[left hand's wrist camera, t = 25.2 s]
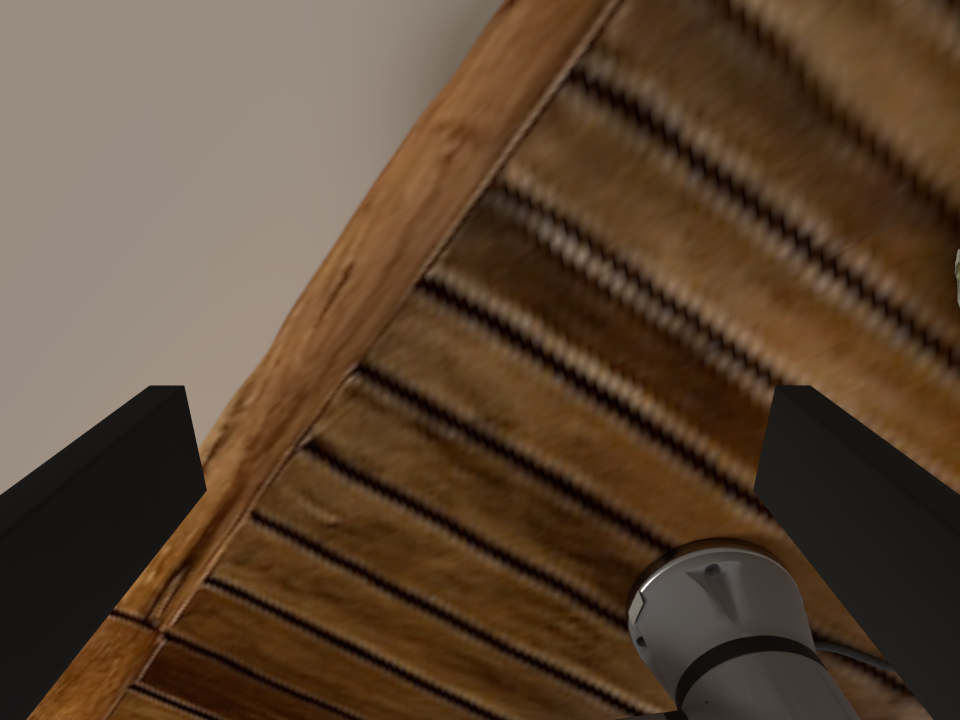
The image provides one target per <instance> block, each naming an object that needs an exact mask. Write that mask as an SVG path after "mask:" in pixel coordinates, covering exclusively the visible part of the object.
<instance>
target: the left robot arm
mask: <svg viewBox="0 0 960 720" xmlns="http://www.w3.org/2000/svg"><path fill="white" fill-rule="evenodd" d="M206 491H207V489H206V485H205V480H204V475H203V471H202V466H201V461H200V457H199V452H198V447H197V443H196V438H195V433H194V429H193V424H192V419H191V415H190V410H189V405H188V401H187V396H186V391H185V387H184V386H148V387H147V388H146V389H144V390H143V391H142V392H140V393H139V394H138V395H136V396H135V397H133V398H132V399H131V400H129V401H128V402H127V403H125V404H124V405H123V406H121V407H120V408H118V409H117V410H116V411H114V412H113V413H112V414H110V415H109V416H108V417H106V418H105V419H103V420H102V421H101V422H99V423H98V424H97V425H95V426H94V427H93V428H91V429H90V430H88V431H87V432H86V433H84V434H83V435H82V436H80V437H79V438H78V439H76V440H75V441H74V442H72V443H71V444H69V445H68V446H67V447H65V448H64V449H63V450H61V451H60V452H58V453H57V454H56V455H54V456H53V457H52V458H50V459H49V460H48V461H46V462H45V463H43V464H42V465H41V466H39V467H38V468H37V469H35V470H34V471H33V472H31V473H30V474H28V475H27V476H26V477H24V478H23V479H22V480H20V481H19V482H18V483H16V484H15V485H14V486H12V487H11V488H9V489H8V490H7V491H5V492H4V493H3V494H1V495H0V720H26V719H27V718H28V717H29V716H30V714H31V713H32V712H33V711H34V709H35V708H36V707H37V705H38V704H39V703H40V702H41V700H42V699H43V698H44V697H45V695H46V694H47V693H48V692H49V690H50V689H51V688H52V686H53V685H54V684H55V683H56V681H57V680H58V679H59V678H60V676H61V675H62V674H63V672H64V671H65V670H66V669H67V667H68V666H69V665H70V664H71V662H72V661H73V660H74V658H75V657H76V656H77V655H78V653H79V652H80V651H81V650H82V648H83V647H84V646H85V645H86V643H87V642H88V641H89V639H90V638H91V637H92V636H93V634H94V633H95V632H96V631H97V629H98V628H99V627H100V625H101V624H102V623H103V622H104V620H105V619H106V618H107V617H108V615H109V614H110V613H111V611H112V610H113V609H114V608H115V606H116V605H117V604H118V603H119V601H120V600H121V599H122V597H123V596H124V595H125V594H126V592H127V591H128V590H129V589H130V587H131V586H132V585H133V584H134V582H135V581H136V580H137V578H138V577H139V576H140V575H141V573H142V572H143V571H144V570H145V568H146V567H147V566H148V564H149V563H150V562H151V561H152V559H153V558H154V557H155V556H156V554H157V553H158V552H159V550H160V549H161V548H162V547H163V545H164V544H165V543H166V542H167V540H168V539H169V538H170V537H171V535H172V534H173V533H174V531H175V530H176V529H177V528H178V526H179V525H180V524H181V523H182V521H183V520H184V519H185V517H186V516H187V515H188V514H189V512H190V511H191V510H192V509H193V507H194V506H195V505H196V503H197V502H198V501H199V500H200V498H201V497H202V496H203V495H204V493H205V492H206ZM753 491H754V492H755V493H756V495H757V496H758V497H759V498H760V500H761V501H762V502H763V503H764V505H765V506H766V507H767V509H768V510H769V511H770V512H771V514H772V515H773V516H774V517H775V519H776V520H777V521H778V523H779V524H780V525H781V526H782V528H783V529H784V530H785V531H786V533H787V534H788V535H789V537H790V538H791V539H792V540H793V542H794V543H795V544H796V545H797V547H798V548H799V549H800V550H801V552H802V553H803V554H804V556H805V557H806V558H807V559H808V561H809V562H810V563H811V564H812V566H813V567H814V568H815V570H816V571H817V572H818V573H819V575H820V576H821V577H822V578H823V580H824V581H825V582H826V584H827V585H828V586H829V587H830V589H831V590H832V591H833V592H834V594H835V595H836V596H837V597H838V599H839V600H840V601H841V603H842V604H843V605H844V606H845V608H846V609H847V610H848V611H849V613H850V614H851V615H852V617H853V618H854V619H855V620H856V622H857V623H858V624H859V625H860V627H861V628H862V629H863V631H864V632H865V633H866V634H867V636H868V637H869V638H870V639H871V641H872V642H873V643H874V645H875V646H876V647H877V648H878V650H879V651H880V652H881V653H882V655H883V656H884V657H885V658H886V660H887V661H888V662H887V661H884V660H881V659H878V658H875V657H872V656H869V655H867V654H864V653H862V652H859V651H857V650H854V649H851V648H848V647H845V646H842V645H838V644H835V643H830V642H822V641H813V638H812V634H811V631H810V627H809V623H808V619H807V616H806V613H805V609H804V604H803V600H802V597H801V594H800V592H799V590H798V587H797V585H796V583H795V581H794V580H793V578H792V577H791V575H790V574H789V573H788V571H787V570H786V568H785V567H784V566H783V564H782V563H781V562H780V561H779V560H778V559H777V558H776V557H775V556H773V555H772V554H771V553H769V552H768V551H766V550H765V549H763V548H761V547H759V546H756V545H753V544H750V543H747V542H743V541H737V540H728V539H715V540H706V541H700V542H695V543H691V544H688V545H685V546H682V547H679V548H677V549H675V550H673V551H670V552H668V553H667V554H665V555H663V556H662V557H660V558H659V559H657V560H656V561H654V562H653V563H652V564H651V565H650V566H648V567H647V568H646V569H645V570H644V571H643V572H642V574H641V575H640V576H639V577H638V578H637V580H636V581H635V583H634V584H633V586H632V588H631V590H630V593H629V595H628V598H627V602H626V610H625V615H626V622H627V626H628V629H629V633H630V636H631V639H632V642H633V644H634V646H635V648H636V650H637V652H638V653H639V655H640V657H641V658H642V660H643V661H644V662H645V664H646V665H647V666H648V668H649V669H650V670H651V672H652V673H653V674H654V676H655V677H656V678H657V680H658V681H659V682H660V684H661V685H662V686H663V688H664V689H665V690H666V692H667V693H668V694H669V696H670V697H671V698H672V700H673V701H674V702H675V704H676V707H677V710H678V711H671V712H665V713H656V714H649V715H642V716H636V717H629V718H623V719H616V720H861V719H860V718H859V716H858V715H857V713H856V712H855V710H854V709H853V708H852V706H851V705H850V703H849V702H848V700H847V699H846V697H845V696H844V694H843V693H842V691H841V690H840V688H839V687H838V685H837V684H836V682H835V681H834V679H833V678H832V676H831V675H830V674H829V672H828V670H827V669H826V667H825V666H824V664H823V663H822V661H821V660H820V658H819V657H818V655H817V653H816V650H824V651H831V652H835V653H839V654H843V655H846V656H849V657H852V658H854V659H857V660H860V661H862V662H865V663H867V664H870V665H873V666H875V667H878V668H881V669H884V670H888V671H892V672H895V673H897V674H898V675H899V676H900V678H901V679H902V680H903V681H904V683H905V684H906V685H907V686H908V688H909V689H910V690H911V692H912V693H913V694H914V695H915V697H916V698H917V699H918V700H919V702H920V703H921V704H922V705H923V707H924V708H925V709H926V711H927V712H928V713H929V714H930V716H931V717H932V718H933V719H934V720H960V495H959V494H957V493H956V492H955V491H953V490H952V489H951V488H949V487H948V486H947V485H945V484H944V483H942V482H941V481H940V480H938V479H937V478H936V477H934V476H933V475H932V474H930V473H929V472H927V471H926V470H925V469H923V468H922V467H921V466H919V465H918V464H917V463H915V462H914V461H912V460H911V459H910V458H908V457H907V456H906V455H904V454H903V453H902V452H900V451H899V450H897V449H896V448H895V447H893V446H892V445H891V444H889V443H888V442H887V441H885V440H884V439H882V438H881V437H880V436H878V435H877V434H876V433H874V432H873V431H872V430H870V429H869V428H867V427H866V426H865V425H863V424H862V423H861V422H859V421H858V420H857V419H855V418H854V417H852V416H851V415H850V414H848V413H847V412H846V411H844V410H843V409H842V408H840V407H839V406H837V405H836V404H835V403H833V402H832V401H831V400H829V399H828V398H827V397H825V396H824V395H822V394H821V393H820V392H818V391H817V390H816V389H814V388H813V387H812V386H776V387H775V391H774V396H773V401H772V405H771V410H770V415H769V419H768V424H767V429H766V433H765V438H764V443H763V447H762V452H761V457H760V461H759V466H758V471H757V475H756V480H755V485H754V489H753Z"/></svg>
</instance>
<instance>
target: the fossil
mask: <svg viewBox="0 0 960 720" xmlns="http://www.w3.org/2000/svg"><path fill="white" fill-rule="evenodd" d="M955 275H956V278H957V287H958V304H959V306H960V249H958V252H957V257H956V264H955Z"/></svg>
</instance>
